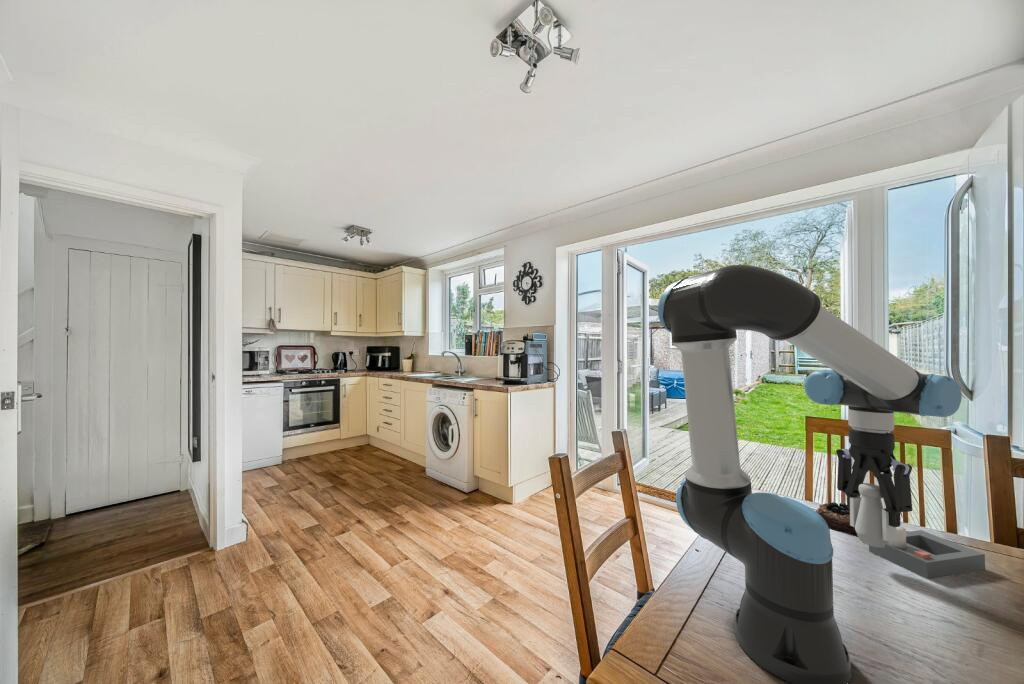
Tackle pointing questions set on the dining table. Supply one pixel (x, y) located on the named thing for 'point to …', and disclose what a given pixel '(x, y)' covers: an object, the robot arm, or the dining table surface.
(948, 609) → the dining table surface
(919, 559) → the grey rimmed tray
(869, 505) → the salt shaker
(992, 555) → the dining table surface
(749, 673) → the dining table surface
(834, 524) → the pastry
